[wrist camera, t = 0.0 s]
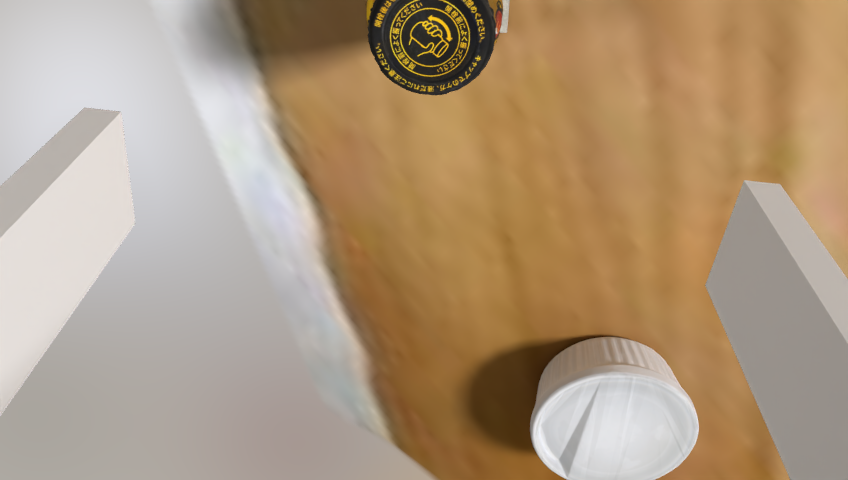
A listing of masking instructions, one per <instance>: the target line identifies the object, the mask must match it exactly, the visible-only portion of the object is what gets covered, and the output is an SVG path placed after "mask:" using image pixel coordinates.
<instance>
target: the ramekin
mask: <svg viewBox="0 0 848 480" xmlns="http://www.w3.org/2000/svg"><path fill="white" fill-rule="evenodd" d="M698 431H699V424H698V417H697V414H696V410H695V408H694V405H693V403H692V401H691V399H690V398H689V396H688V395H687V393H686V392H685V391H684V390H683V388H682V387H681V386H680V384H679V383H678V381H677V379H676V378H675V376H674V374H673V372H672V370H671V369H670V367H669V366H668V365H667V363H666V361H665V360H664V359H663V358H662V357H661V356H660V355H659V354H658V353H656V352H655V351H654V350H653V349H651V348H649V347H648V346H646V345H644V344H641V343H639V342H636V341H632V340H629V339H625V338H618V337H598V338H592V339H588V340H584V341H581V342H579V343H576V344H574V345H572V346H570V347H568V348H566V349H565V350H563V351H561V352H560V353H559V354H558V355H556V356H555V357H554V358H553V359H552V360H551V361H550V362H549V364H548V365H547V367H546V368H545V369H544V371H543V373H542V375H541V379H540V381H539V385H538V391H537V397H536V404H535V407H534V410H533V412H532V416H531V421H530V433H531V440H532V444H533V447H534V449H535V451H536V453H537V455H538V456H539V458H540V459H541V461H542V462H543V463H544V464H545V465H546V466H547V467H548V468H549V469H551V470H552V471H553V472H555V473H556V474H558V475H559V476H561V477H563V478H565V479H567V480H655V479H657V478H659V477H661V476H663V475H665V474H667V473H668V472H670V471H672V470H673V469H675V468H676V467H677V466H679V465H680V464H681V463H682V462H683V461H684V460H685V459H686V458H687V456H688V455H689V453H690V452H691V450H692V448H693V447H694V445H695V443H696V440H697V437H698Z"/></svg>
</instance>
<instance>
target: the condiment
mask: <svg viewBox="0 0 848 480" xmlns="http://www.w3.org/2000/svg"><path fill="white" fill-rule="evenodd" d="M509 1H510V0H367V2H366V8H367V11H366V15H367V24H368V31H369V33H368V40H369V44H370V48H371V52H372V54H373V55H374V57H375V60H376V62H377V63H378V65H379V67H380V69H381V71H382V72H383V73H384V75H385V76H386V77H387V78H389V79H390V80H391V81H392V82H394V83H395V84H397V85H399V86H400V87H402V88H404V89H406V90H409V91H411V92H415V93H419V94H428V95H442V94H447V93H449V92H452V91H455V90H458V89H460V88H462V87H463V86H465V85H467V84H468V83H470V82H471V81H472V80H473V79H475V78H476V77H477V76H479V74H480V73H481V71H482V70H483V69H484V68H485V67H486V65H487V63H488V61H489V59H490V56H491V54H492V51H493V47H494V45H495V43H496V42H497V38H498V36H499V33H507V26H508V13H509Z"/></svg>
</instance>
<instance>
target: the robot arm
mask: <svg viewBox="0 0 848 480" xmlns="http://www.w3.org/2000/svg"><path fill="white" fill-rule="evenodd" d="M134 225H135V217H134V209H133V201H132V193H131V186H130V177H129V170H128V162H127V154H126V146H125V138H124V131H123V123H122V116H121V112H119V111H110V110H101V109H91V108H84V109H82V110H81V111H80V112H79V113H78V114H77V115H76V116H75V117H74V118H73V119H72V120H71V121H70V122H69V123H68V124H66V125H65V126H64V127H63V128H62V129H61V130H60V131H59V132H58V133H57V134H56V135H55V136H54V137H53V138H52V139H50V140H49V141H48V142H47V143H46V144H45V145H44V146H43V147H42V148H41V149H40V150H39V151H38V152H36V154H34V155H33V156H32V157H31V158H30V159H29V160H28V161H27V162H26V163H25V164H24V165H23V166H21V167H20V169H18V170H17V171H16V172H15V173H14V174H13V175H12V176H11V177H10V178H9V179H8V180H7V181H5V182H4V183H3V184H2V185H1V186H0V416H1V414H2V413H3V411H4V410H5V409H6V407H7V406H8V404H9V403H10V401H11V400H12V399H13V397H14V396H15V394H16V393H17V392H18V390H19V389H20V387H21V386H22V384H23V383H24V382H25V380H26V379H27V377H28V376H29V374H30V373H31V372H32V370H33V369H34V367H35V366H36V364H37V363H38V362H39V360H40V359H41V357H42V356H43V355H44V353H45V352H46V350H47V349H48V347H49V346H50V345H51V343H52V342H53V340H54V339H55V337H56V336H57V335H58V333H59V332H60V330H61V329H62V327H63V326H64V325H65V323H66V322H67V320H68V319H69V317H70V316H71V315H72V313H73V312H74V310H75V309H76V308H77V306H78V305H79V303H80V302H81V300H82V299H83V297H84V296H85V295H86V293H87V292H88V290H89V289H90V288H91V286H92V285H93V283H94V282H95V280H96V279H97V277H98V276H99V275H100V273H101V272H102V270H103V269H104V268H105V266H106V265H107V263H108V262H109V260H110V259H111V258H112V256H113V255H114V253H115V252H116V250H117V249H118V248H119V246H120V245H121V243H122V242H123V241H124V239H125V238H126V236H127V235H128V233H129V232H130V230H131V229H132V228H133V226H134ZM705 286H706V288H707V290H708V293H709V295H710V297H711V300H712V302H713V304H714V306H715V309H716V311H717V313H718V316H719V318H720V320H721V322H722V325H723V327H724V329H725V332H726V334H727V336H728V338H729V341H730V343H731V345H732V348H733V350H734V352H735V354H736V357H737V359H738V361H739V363H740V366H741V368H742V370H743V373H744V375H745V377H746V379H747V382H748V384H749V386H750V389H751V391H752V393H753V395H754V398H755V400H756V402H757V405H758V407H759V409H760V411H761V414H762V416H763V418H764V421H765V423H766V425H767V427H768V430H769V432H770V434H771V436H772V439H773V441H774V443H775V446H776V448H777V450H778V452H779V455H780V457H781V459H782V462H783V464H784V466H785V468H786V471H787V473H788V475H789V478H790V480H848V279H847V278H846V276H845V275H844V273H843V272H842V271H841V269H840V268H839V266H838V265H837V264H836V262H835V261H834V259H833V258H832V256H831V255H830V254H829V252H828V251H827V249H826V248H825V247H824V245H823V244H822V242H821V241H820V240H819V238H818V237H817V235H816V234H815V233H814V231H813V230H812V228H811V227H810V226H809V224H808V223H807V221H806V220H805V219H804V217H803V216H802V214H801V213H800V212H799V210H798V209H797V207H796V206H795V204H794V203H793V202H792V200H791V199H790V197H789V196H788V195H787V193H786V192H785V190H784V189H783V188H782V186H781V185H780V184H773V183H764V182H755V181H746V180H744V182H743V185H742V187H741V190H740V193H739V196H738V198H737V201H736V204H735V206H734V209H733V212H732V214H731V217H730V220H729V223H728V225H727V228H726V231H725V233H724V236H723V239H722V242H721V244H720V247H719V250H718V252H717V255H716V258H715V261H714V263H713V266H712V269H711V271H710V274H709V277H708V279H707V282H706V285H705Z"/></svg>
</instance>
